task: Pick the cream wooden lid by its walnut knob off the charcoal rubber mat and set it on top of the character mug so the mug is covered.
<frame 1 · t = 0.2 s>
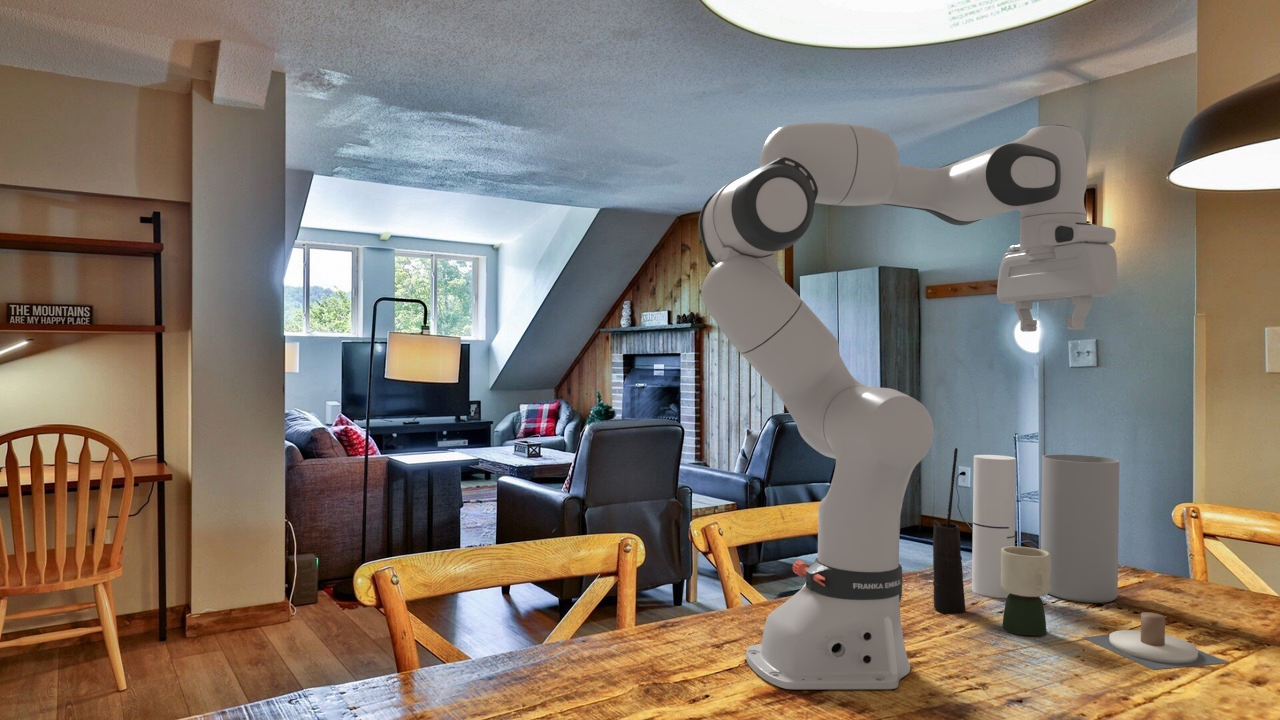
hand: (1051, 330, 120), 47 cm above the table, fingers open, 8 cm apart
lid: (1152, 649, 118), point 1 cm above the table, touching mat
butter churn: (943, 609, 139), on the table
mat: (1152, 653, 118), on the table
cylinder vase: (1078, 595, 148), on the table
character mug: (1024, 635, 126), on the table
cylindrical container: (992, 593, 149), on the table
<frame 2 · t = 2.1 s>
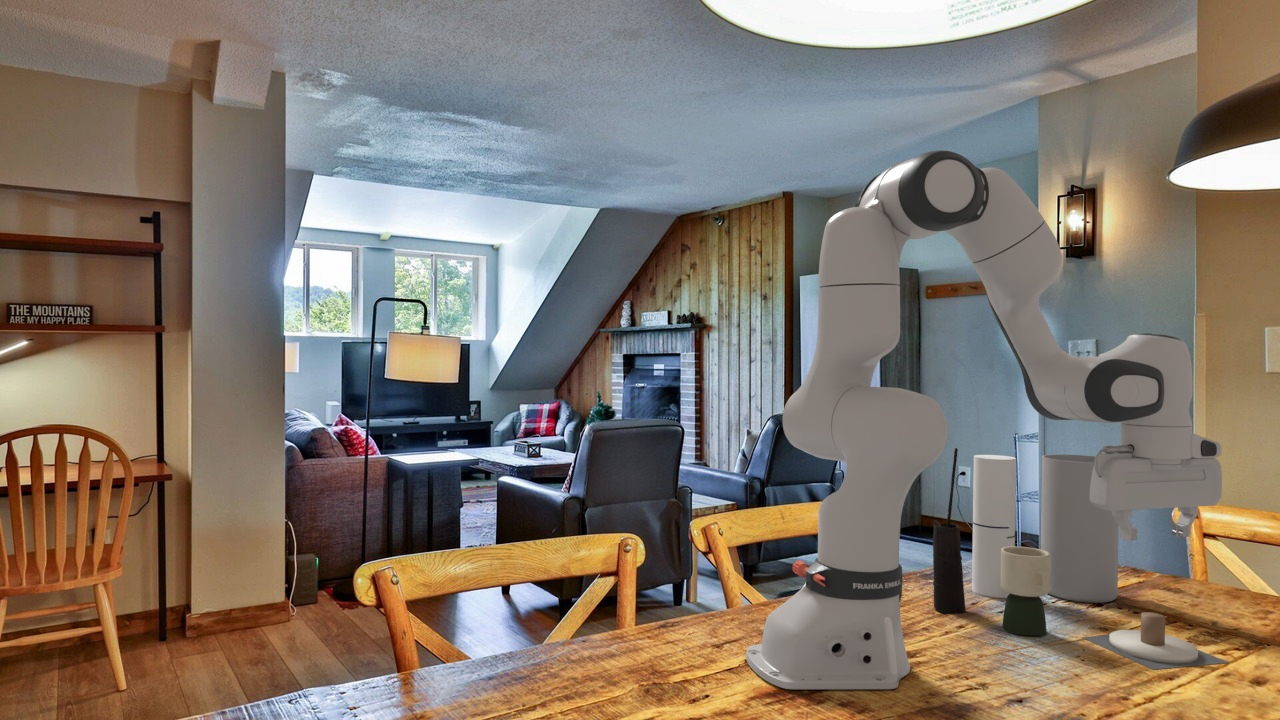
hand: (1155, 538, 118), 17 cm above the table, fingers open, 8 cm apart
nothing on the table moved.
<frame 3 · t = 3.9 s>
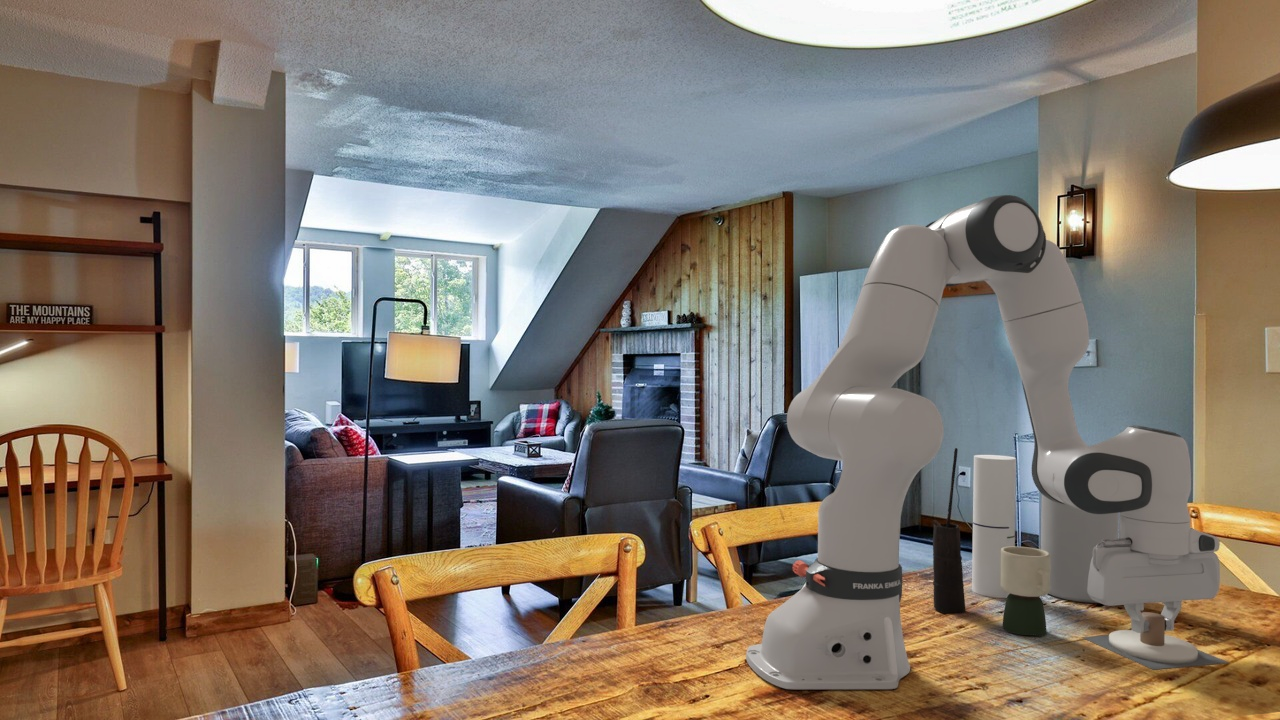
hand: (1152, 630, 118), 3 cm above the table, fingers closed on lid, 3 cm apart
lid: (1152, 649, 118), point 1 cm above the table, touching gripper, mat
everything else where it was.
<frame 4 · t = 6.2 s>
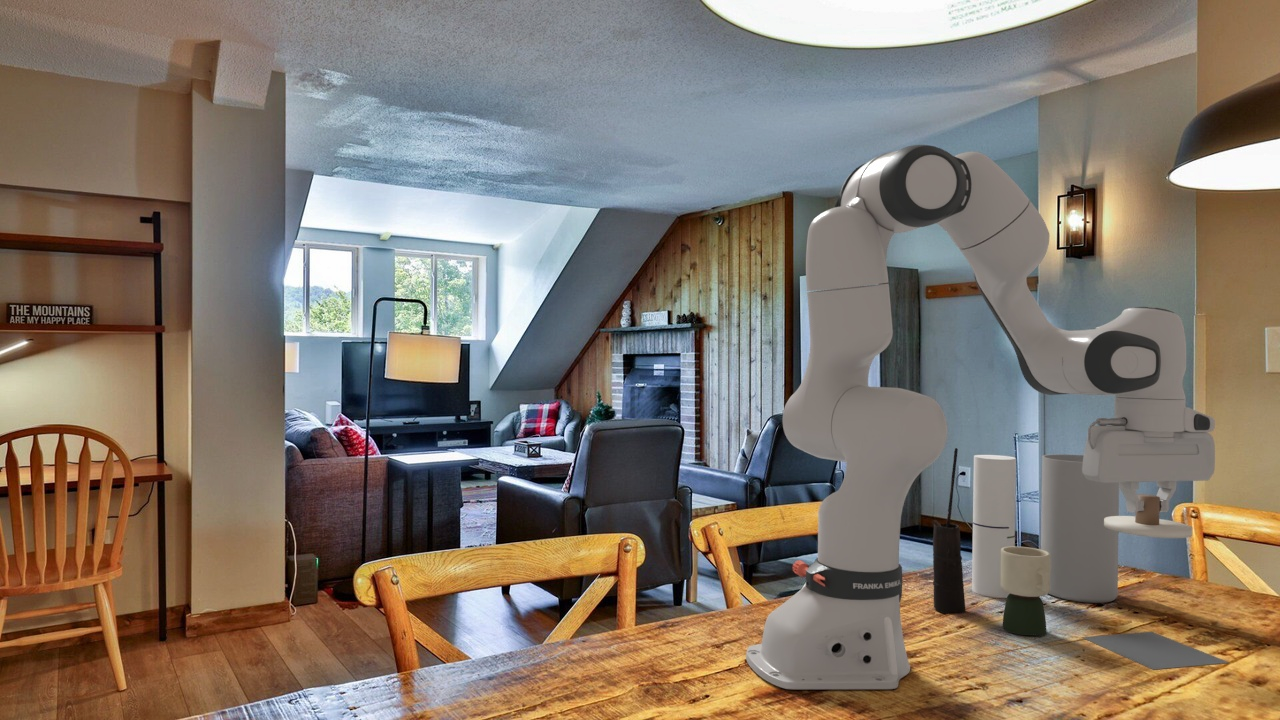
hand: (1147, 511, 119), 21 cm above the table, fingers closed on lid, 3 cm apart
lid: (1147, 529, 119), point 18 cm above the table, touching gripper
everything else where it was.
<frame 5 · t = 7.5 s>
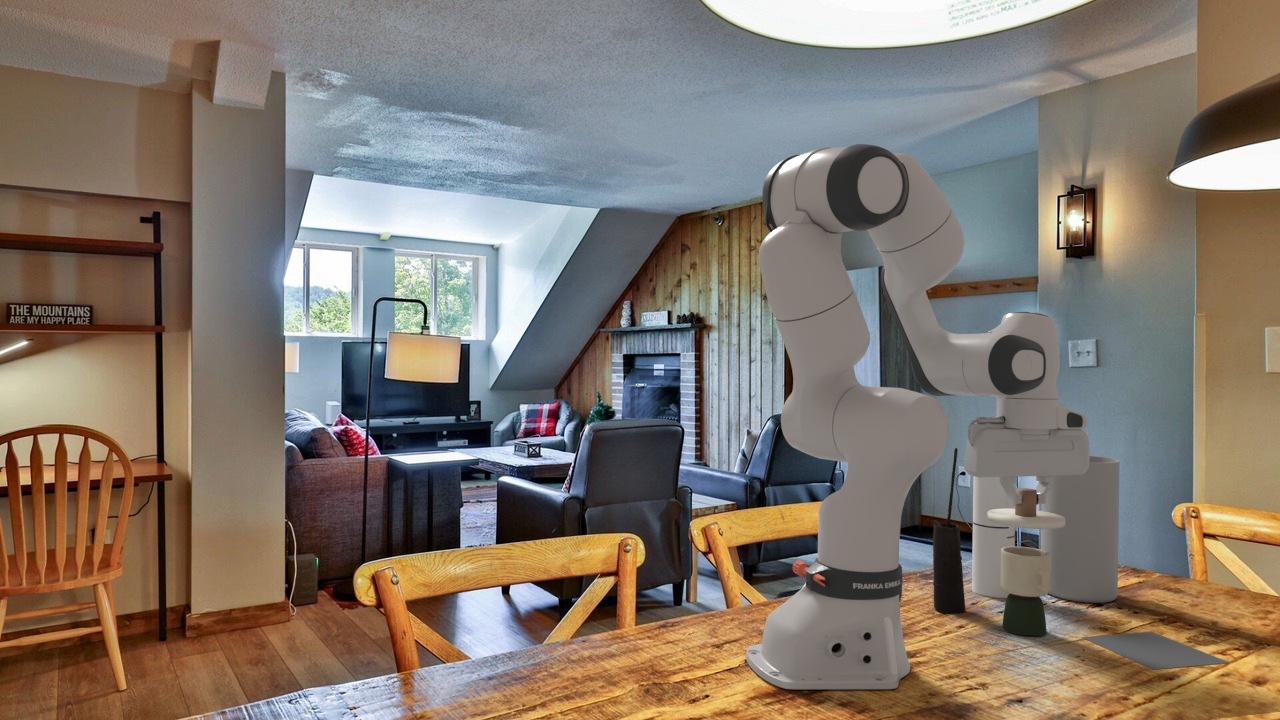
hand: (1026, 504, 126), 20 cm above the table, fingers closed on lid, 3 cm apart
lid: (1025, 521, 126), point 18 cm above the table, touching gripper
everything else where it was.
when the fingers open (17 cm above the table, at t = 8.3 s): lid drops 2 cm, resting on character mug.
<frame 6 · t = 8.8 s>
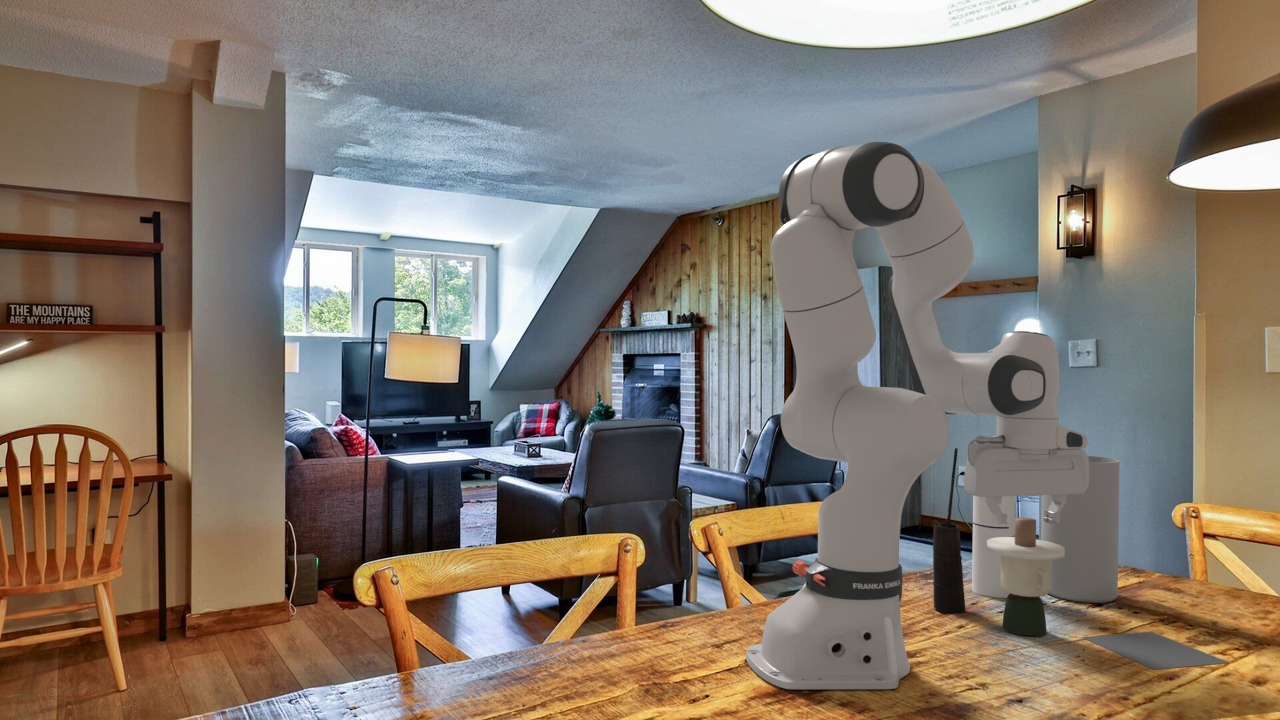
hand: (1025, 523, 126), 17 cm above the table, fingers open, 8 cm apart
lid: (1025, 551, 126), point 13 cm above the table, touching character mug
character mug: (1024, 635, 126), on the table, touching lid
everything else where it was.
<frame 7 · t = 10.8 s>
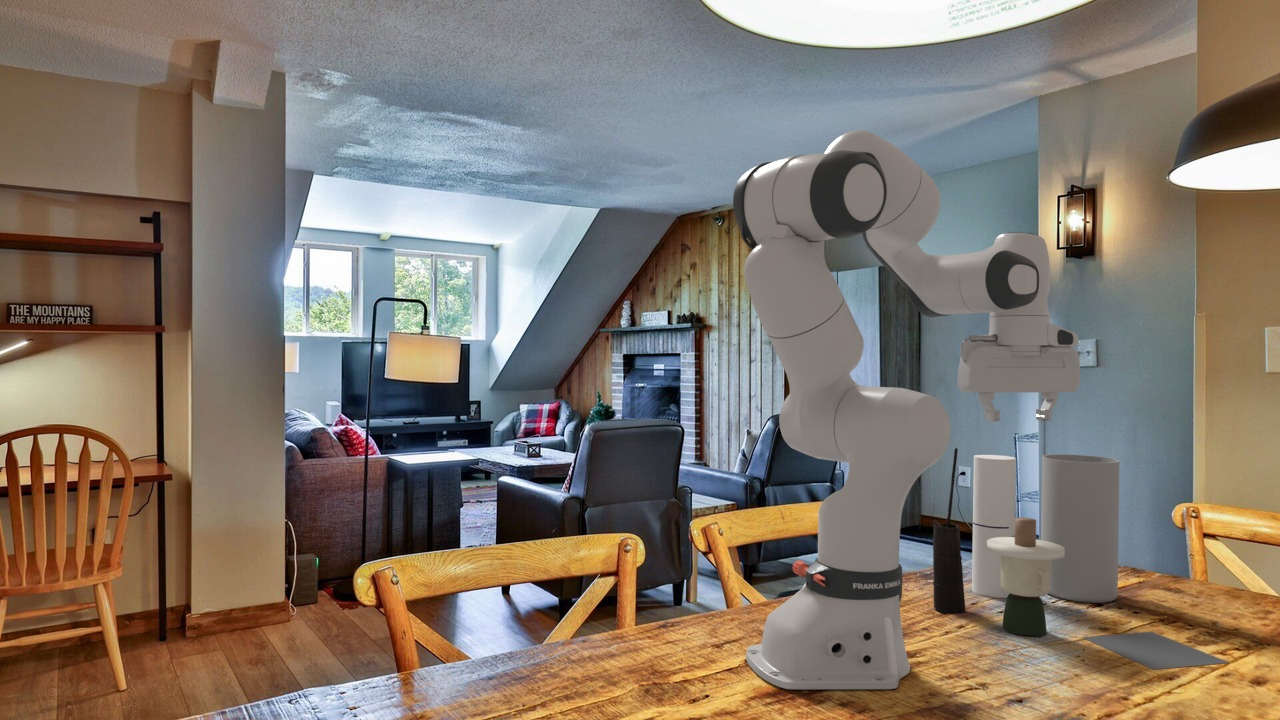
hand: (1018, 420, 130), 33 cm above the table, fingers open, 8 cm apart
nothing on the table moved.
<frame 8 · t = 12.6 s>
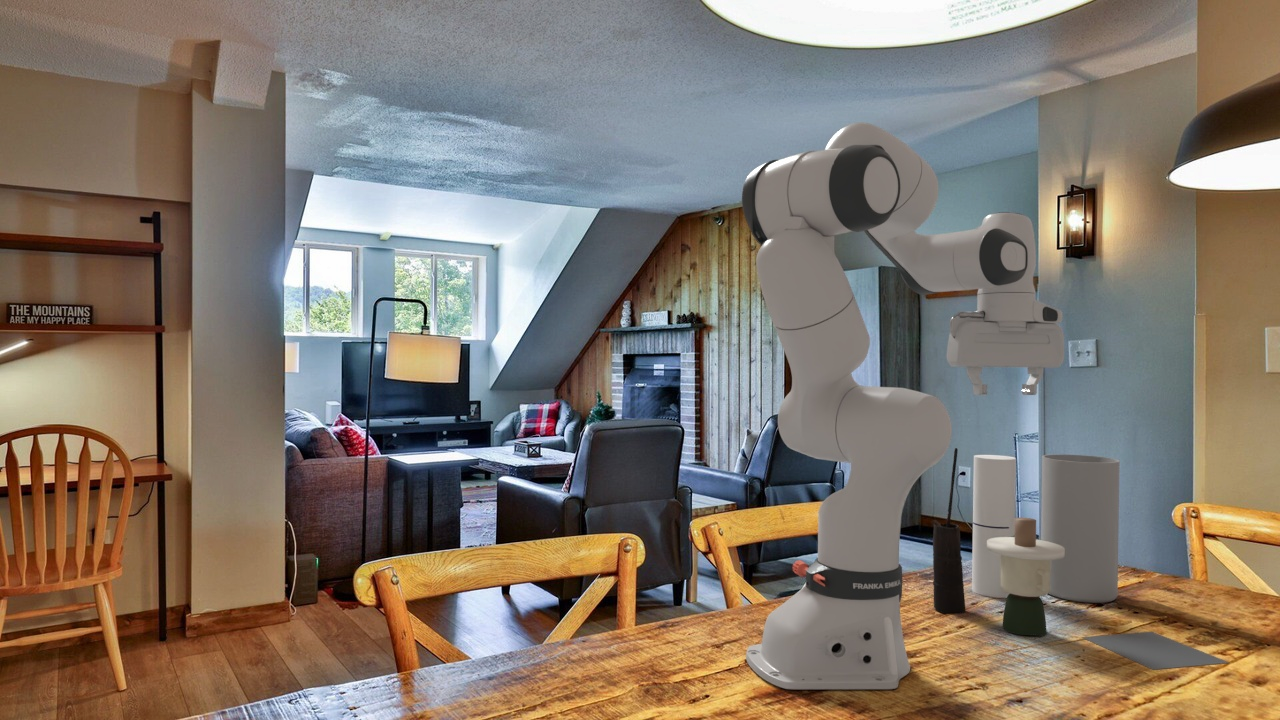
hand: (1004, 395, 134), 37 cm above the table, fingers open, 8 cm apart
nothing on the table moved.
at the end: lid 0.0 cm off-centre on the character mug, point 13.2 cm above the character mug's base; lid tilted 0°; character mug tilted 0° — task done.
